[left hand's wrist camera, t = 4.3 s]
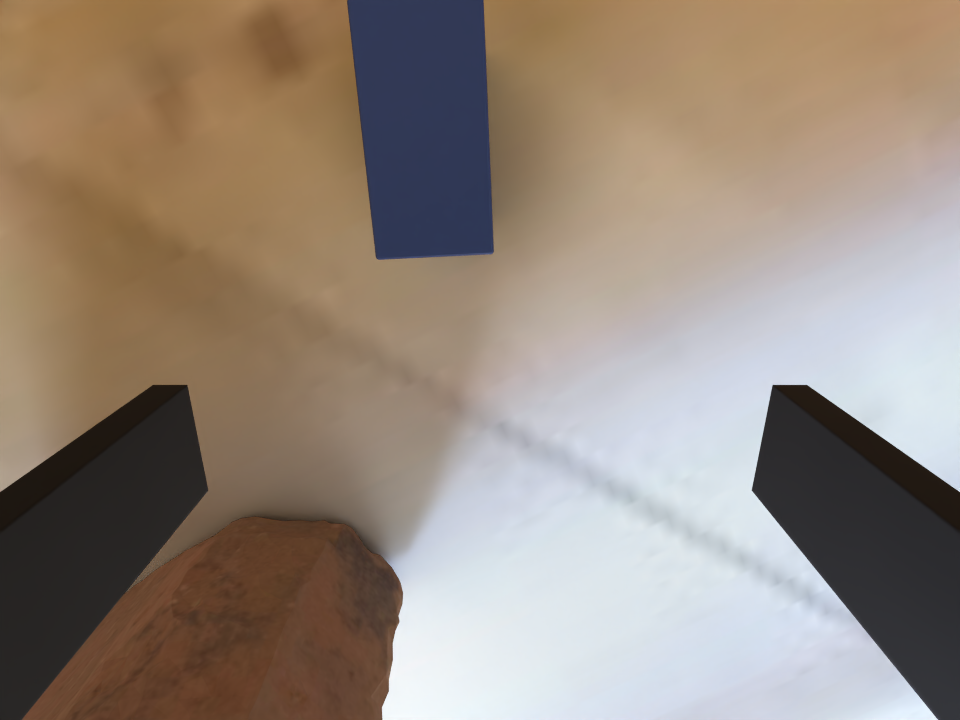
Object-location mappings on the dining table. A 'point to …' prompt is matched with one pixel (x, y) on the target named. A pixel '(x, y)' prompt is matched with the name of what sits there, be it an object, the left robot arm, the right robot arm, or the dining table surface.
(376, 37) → the block
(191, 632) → the stone
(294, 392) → the dining table surface
